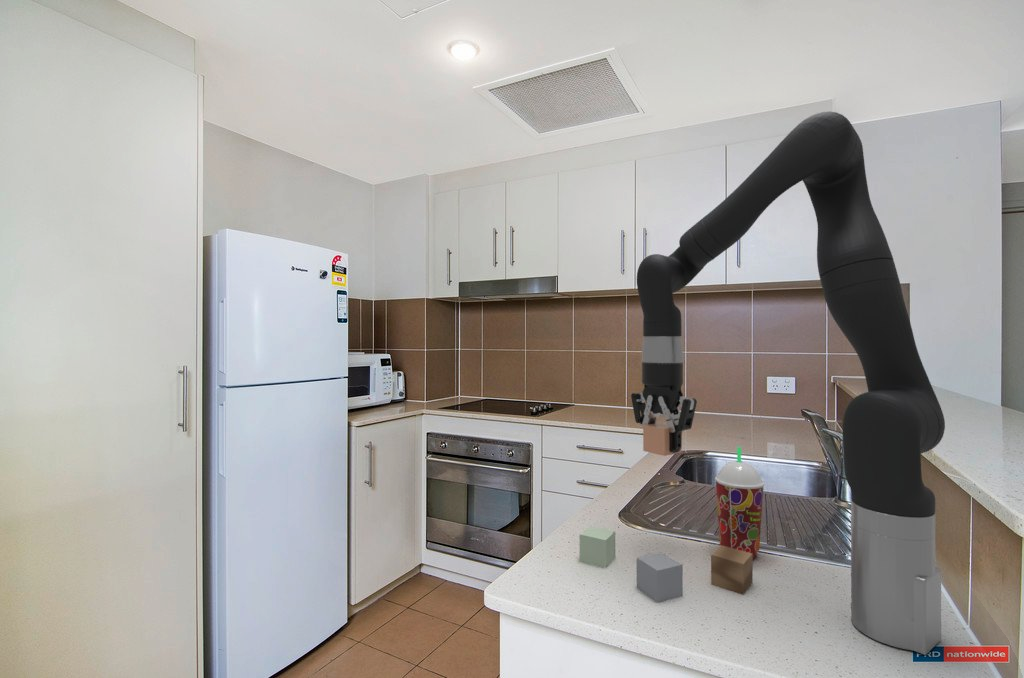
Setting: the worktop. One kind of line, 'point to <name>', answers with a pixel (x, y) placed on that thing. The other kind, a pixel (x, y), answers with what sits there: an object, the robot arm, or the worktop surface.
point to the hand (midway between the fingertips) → (662, 448)
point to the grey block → (659, 577)
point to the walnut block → (732, 569)
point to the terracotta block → (657, 439)
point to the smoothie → (739, 505)
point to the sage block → (597, 546)
